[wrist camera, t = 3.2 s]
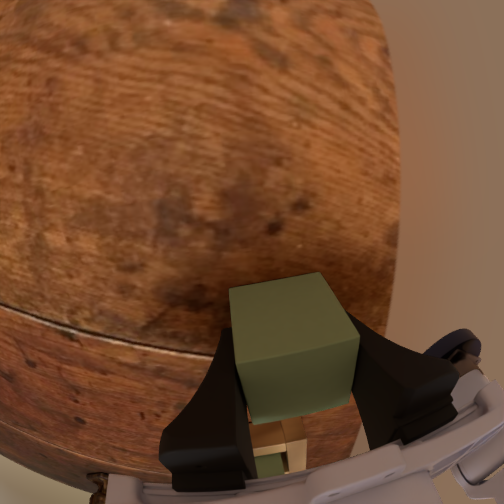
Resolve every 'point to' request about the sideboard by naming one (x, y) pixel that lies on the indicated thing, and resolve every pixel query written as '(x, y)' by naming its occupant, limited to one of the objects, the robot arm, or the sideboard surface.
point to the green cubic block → (269, 465)
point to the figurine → (102, 481)
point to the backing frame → (281, 442)
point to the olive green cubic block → (292, 347)
